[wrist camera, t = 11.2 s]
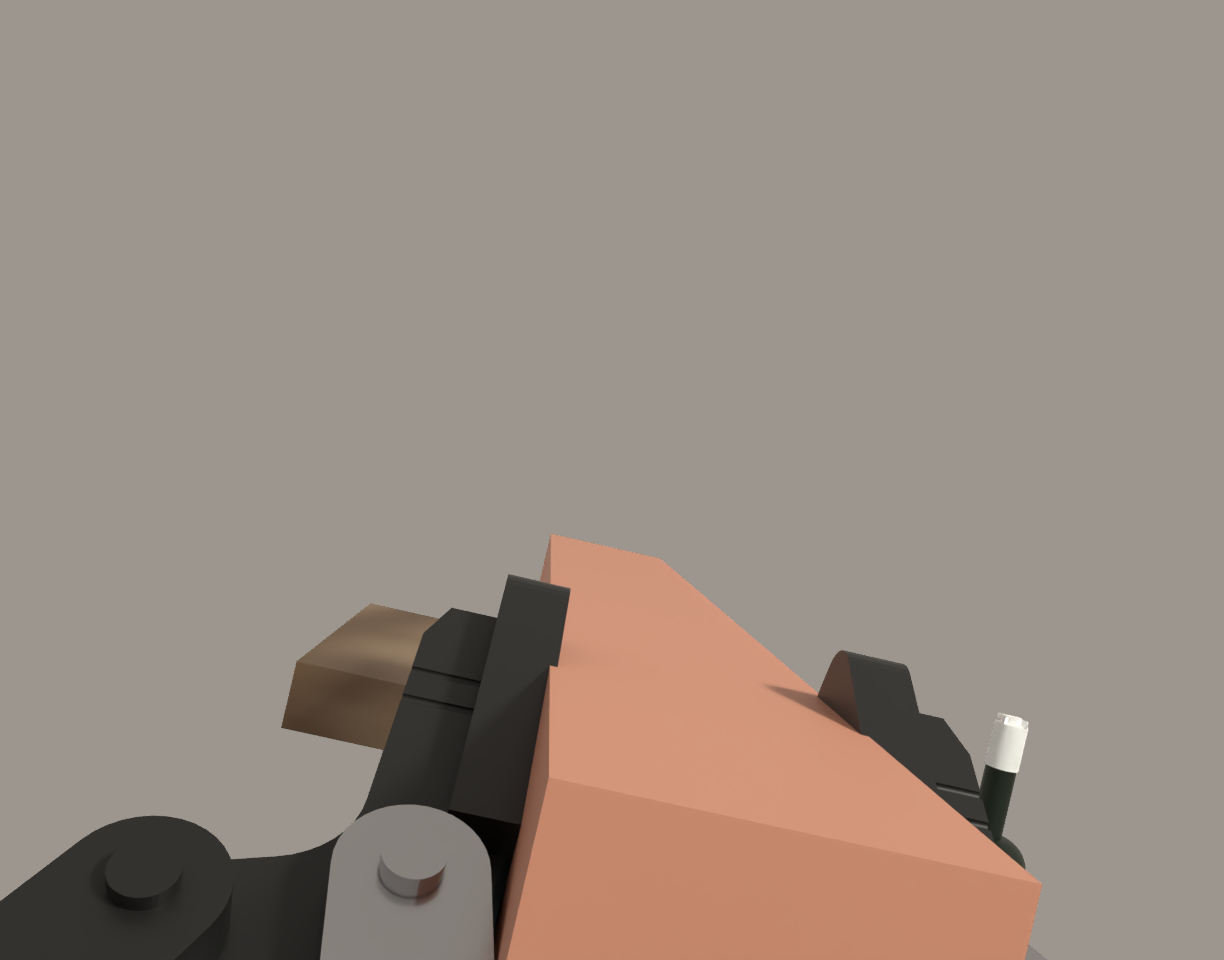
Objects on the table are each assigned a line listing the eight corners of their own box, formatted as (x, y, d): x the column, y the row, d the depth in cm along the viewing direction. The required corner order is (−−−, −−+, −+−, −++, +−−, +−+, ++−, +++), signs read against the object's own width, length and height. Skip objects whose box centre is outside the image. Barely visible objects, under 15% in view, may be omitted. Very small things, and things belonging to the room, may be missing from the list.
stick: (634, 667, 33) (660, 558, 33) (927, 1375, 7) (1041, 884, 7) (525, 643, 33) (550, 533, 33) (432, 1282, 7) (549, 777, 7)
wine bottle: (925, 1202, 72) (1035, 730, 72) (847, 1149, 76) (952, 703, 76) (968, 1177, 76) (1073, 731, 76) (893, 1128, 81) (992, 704, 80)
